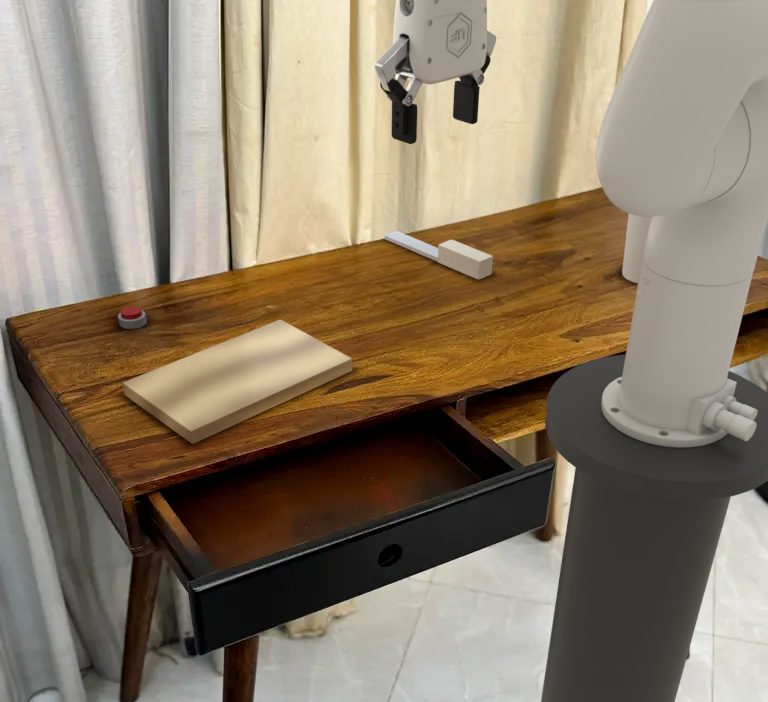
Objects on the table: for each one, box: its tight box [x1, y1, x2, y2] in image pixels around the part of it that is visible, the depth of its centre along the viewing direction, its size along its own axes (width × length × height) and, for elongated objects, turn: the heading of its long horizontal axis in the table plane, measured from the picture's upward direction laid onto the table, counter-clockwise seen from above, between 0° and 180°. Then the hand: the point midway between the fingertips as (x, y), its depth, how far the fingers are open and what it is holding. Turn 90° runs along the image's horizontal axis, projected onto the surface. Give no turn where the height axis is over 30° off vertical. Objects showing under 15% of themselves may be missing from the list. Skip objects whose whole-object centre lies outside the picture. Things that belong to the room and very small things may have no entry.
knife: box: [383, 230, 494, 281], centre depth 125 cm, size 17×2×2 cm, turn 43°
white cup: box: [621, 213, 652, 284], centre depth 118 cm, size 7×7×10 cm
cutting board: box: [122, 319, 353, 445], centre depth 100 cm, size 12×20×2 cm, turn 133°
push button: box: [117, 305, 148, 330], centre depth 111 cm, size 3×3×2 cm
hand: (435, 130), depth 108 cm, fingers open, 9 cm apart
